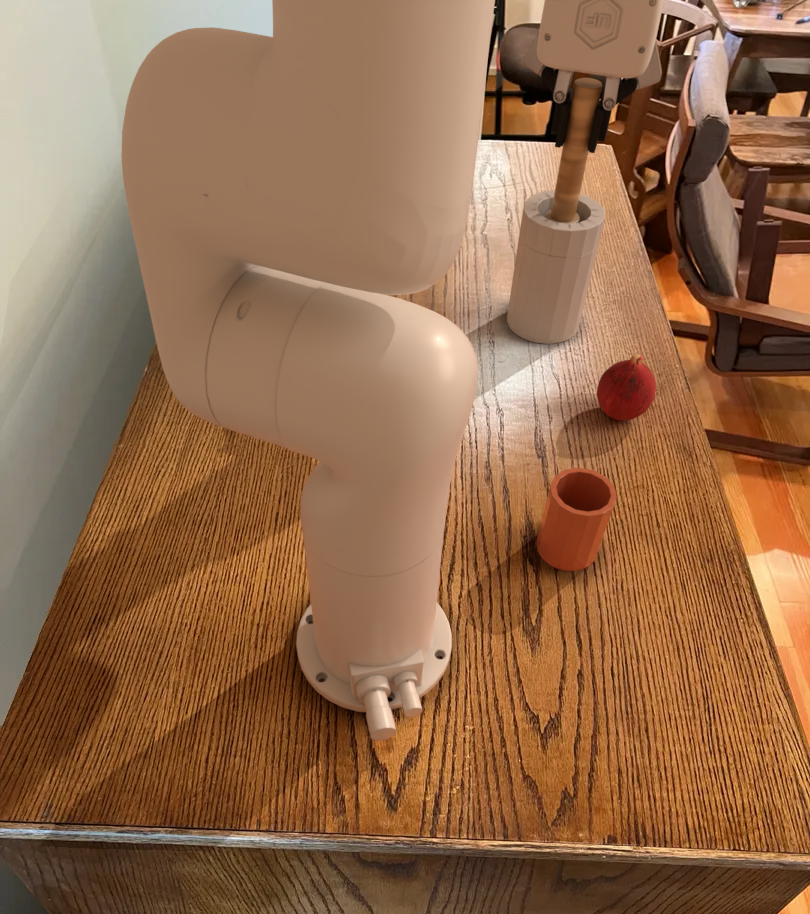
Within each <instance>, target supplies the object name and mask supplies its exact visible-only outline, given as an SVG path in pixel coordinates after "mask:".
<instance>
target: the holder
mask: <svg viewBox="0 0 810 914" xmlns="http://www.w3.org/2000/svg"><path fill="white" fill-rule="evenodd" d="M617 499H618V497H617V491H616V487H615V485H614V484H613V483H612V482H611V481H610V480H609V478H608V477H606V476H605V475H603V474H601V473H599V472H597V471H595V470H593V469H588V468H582V467H574V468H573V467H572V468H567V469H564V470H562V471H561V472H559V473H557V474H555V476H554V477H553V478H552V481H551V483H550V485H549V489H548V492H547V497H546V501H545V505H544V509H543V513H542V517H541V521H540V525H539V529H538V533H537V537H536V541H535V543H536V549H537V553H538V554H539V556H540V557H541V559H542V560H543V561H544V562H545V563H546V564H547V565H548V566H551V567H553V568H555V569H557V570H561V571H565V572H576V571H581V570H585V569H586V568H589V566H591V565H592V564H593V563H594V562H595V560H596V558H597V555H598V552H599V549H600V547H601V544H602V541H603V538H604V535H605V532H606V530H607V528H608V524H609V521H610V518H611V515H612V513H613V510H614V507H615V504H616V502H617Z"/></svg>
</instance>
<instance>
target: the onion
mask: <svg viewBox="0 0 810 914" xmlns="http://www.w3.org/2000/svg"><path fill="white" fill-rule="evenodd" d="M643 361H644V357H643V355H641V354H640V353H636V354H633V355H632V356H631V358H629V359H625V360H620V361H618V362H615V363H613V364H612V365H611V366H610V367H608V368H607V369H606V370H605V371H604V372H603V373H602V375H601V377H600V379H599V381H598V385H597V388H596V398H597V402H598V404H599V407H600V408H601V410H602V411H603V413H605V415H606V416H608V417H609V418H611V419H613V420H617V421H620V422H621V421H631V420H634V419H637V418H638V417H640V416H642V415H643V414H645V413H646V412H647V411H648V410H649V409H650V408H651V406H652V404H654V401H655V398H656V393H657V392H656V390H657V382H656V379H655V376H654V374H653V371H652V370H651V368H649V366H648V365H646V364H645V363H643Z"/></svg>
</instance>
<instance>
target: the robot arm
mask: <svg viewBox="0 0 810 914" xmlns="http://www.w3.org/2000/svg"><path fill="white" fill-rule="evenodd" d="M664 2H665V0H544V3H543V9H542V14H541V18H540V24H539V30H538V32H537V34H536V35H535V37H534V39H533V40H532V42H531V44H530V45H529V47H528V49H527V51H526V52H525V54H524V55H523V58H522V63H523V65H524V66H525V67H527V68H528V69H529V70H530V71H532V72H533V73H534V74H536V75H538V76H540V77H541V79H542V80H543V82H544V84H545V86H546V87H547V88H548V90H549V92H550V93H551V95H552V98H553V101H554V102H555V105H554V111H553V117H552V123H551V128H550V129H551V130H550V135H551V134H552V135H556V137H555V143H554V148H557V149H559V148H561V147H562V148H563V144H564V139H565V134H566V128H567V123H568V117H569V112H570V106H571V99H572V93H573V88H572V87H571V85H572V83H573V77H574V73H583V74H588V75H597V76H604V77H606V79H605V85H604V91H603V93H602V94H601V96H600V99H599V103H598V106H597V108H596V111H595V116H594V121H593V126H592V131H591V135H590V140H589V145H588V150H587V151H589V152H588V153H590V154H595V153H596V150H597V146H598V143H599V142H601V143H602V142H603V143H605V141H606V139H607V135H608V130H609V125H610V121H611V117H612V111H613V110H614V109H615V107H616V106H617V105H618V104H619V103H621V102H622V101H623V100H625V99H627V97H629V96H630V95H632V94H633V93H634V92H635V91H638V90H642V89H645V88H649V87H651V86H653V85H657V84H658V83H659V82H661V80H662V76H663V70H662V64H661V63H662V62H661V59H660V54H659V47H658V40H657V37H658V31H659V26H660V22H661V17H662V13H663V8H664ZM271 4H272V36H270V35H264V34H258V33H253V32H247V31H242V30H241V31H240V30H236V29H229V28H223V27H193V28H187V29H184V30H181V31H177V32H174V33H173V34H171V35H169V36H167V37H165V38H164V39H162V40H161V41H159V43H157V44H156V45H155V46H154V47H153V48H152V49H151V50H150V51H149V52H148V54H146V56H145V58H144V59H143V61H142V62H141V64H140V65H139V67H138V69H137V71H136V73H135V75H134V79H133V80H132V83H131V86H130V89H129V93H128V96H127V100H126V104H125V110H124V117H123V123H122V130H121V169H122V170H121V171H122V181H123V187H124V194H125V199H126V205H127V210H128V216H129V220H130V221H129V222H130V224H131V225H130V227H131V230H132V235H133V239H134V240H133V241H134V244H135V250H136V254H137V258H138V263H139V268H140V273H141V277H142V282H143V288H144V293H145V296H146V302H147V306H148V310H149V314H150V320H151V324H152V329H153V334H154V338H155V343H156V347H157V351H158V355H159V360H160V363H161V367H162V371H163V374H164V377H165V379H166V382H167V384H168V386H169V388H170V390H171V393H172V394H173V395H174V397H175V398H176V400H177V401H178V402H179V404H180V405H181V406H182V407H184V409H185V410H186V411H188V412H189V413H190V414H192V415H194V416H195V417H196V418H199V419H200V420H202V421H205V422H208V423H210V424H212V425H215V426H217V427H221V428H223V429H226V430H229V431H231V432H235V433H238V434H241V435H244V436H247V437H250V438H253V439H256V440H260V441H263V442H265V443H268V444H273V445H275V446H278V447H281V448H284V449H287V450H289V451H291V452H293V453H296V454H300V455H302V456H305V457H308V458H311V459H314V460H316V461H318V462H317V464H316V465H315V467H313V469H312V471H310V473H309V474H308V476H307V478H306V481H305V482H304V485H303V489H302V491H301V496H300V502H299V515H300V523H301V525H300V526H301V531H302V538H303V546H304V556H305V565H306V573H307V580H308V589H309V597H310V604H309V605H308V607H306V609H305V611H304V613H303V615H302V616H301V618H300V620H299V624H298V628H297V631H296V645H295V647H296V653H297V659H298V663H299V666H300V669H301V671H302V673H303V675H304V677H305V679H306V680H307V682H308V683H309V684H310V685H311V687H312V688H313V689H314V690H315V691H316V692H317V693H318V694H319V695H321V696H322V697H323V698H324V699H325V700H327V701H329V702H331V703H333V704H335V705H336V706H338V707H340V708H343V709H347V710H350V711H354V712H358V713H359V712H360V713H366V714H365V718H366V723H367V727H368V732H369V736H370V739H371V740H372V741H378V742H380V741H381V742H382V741H386V740H388V739H391V738H392V737H394V736H395V735H396V734H397V728H396V723H395V719H394V714H393V712H392V711H393V710H395V709H401V708H402V710H403V711H402V712H403V714H404V716H405V718H406V717H407V718H415V717H418V716H419V715H421V714H422V713H423V706H422V703H421V700H420V699H421V698H422V697H424V696H425V695H427V694H428V693H429V692H431V690H432V689H433V688H435V686H436V685H437V684H438V683H439V682H440V680H441V679H442V677H443V676H444V674H445V673H446V670H447V668H448V665H449V663H450V659H451V654H452V649H453V647H452V646H453V642H452V641H453V638H452V637H453V635H452V630H451V627H450V626H451V625H450V622H449V619H448V618H447V615H446V613H445V611H444V609H443V608H442V607H441V605H440V604H439V602H438V593H439V584H440V576H441V575H440V573H441V565H442V564H441V563H442V554H443V544H444V535H445V526H446V520H447V519H446V518H447V508H448V501H449V493H450V488H451V481H452V477H453V472H454V468H455V464H456V461H457V456H458V453H459V450H460V447H461V444H462V441H463V437H464V435H465V432H466V428H467V427H468V422H469V420H470V417H471V413H472V410H473V405H474V402H475V398H476V394H477V389H478V388H477V387H478V380H479V379H478V378H479V365H478V364H479V363H478V359H477V358H478V357H477V354H476V351H475V349H474V346H473V344H472V343H471V341H470V339H469V337H468V336H467V335H466V334H465V332H464V331H463V330H462V329H461V328H459V326H457V325H456V324H455V323H454V322H453V321H451V320H450V319H448V318H447V317H445V316H444V315H442V314H440V313H438V312H437V311H434V310H432V309H429V308H427V307H425V306H422V305H421V304H417V303H415V302H411V301H408V300H405V299H403V298H399V297H395V296H399V295H400V296H405V295H412V294H416V293H420V292H424V291H426V290H428V289H430V288H432V287H433V286H435V285H436V284H437V283H439V282H440V281H441V280H442V279H443V278H445V276H446V275H447V274H448V271H449V270H450V269H451V267H452V266H453V264H454V263H455V261H456V259H457V256H458V254H459V251H460V249H461V247H462V243H463V240H464V236H465V231H466V227H467V226H466V225H467V222H468V218H469V211H470V206H471V200H472V193H473V185H474V177H475V168H476V161H477V153H478V145H479V136H480V128H481V122H482V121H481V120H482V113H483V103H484V94H485V86H486V78H487V69H488V61H489V60H488V59H489V53H490V45H491V36H492V27H493V21H494V20H493V19H494V11H495V4H496V0H272V3H271ZM438 657H441V658H438ZM388 698H390V699H391V701H389V700H388Z"/></svg>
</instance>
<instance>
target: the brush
mask: <svg viewBox="0 0 810 914" xmlns="http://www.w3.org/2000/svg"><path fill="white" fill-rule="evenodd" d="M602 88H603V84H602V82H601V81H600V80H599V79H595V78H592V77H580V78H577V79H575V81H574V83H573V88H572V99H571V106H570V112H569V117H568V123H567V128H566V134H565V139H564V144H563V146H562V149H561V155H560V160H559V161H560V162H559V166H558V171H557V176H556V182H555V187H554V190H555V193H554V199H553V204H552V209H551V210H549V211H548V212H547V213H546V217H545V218H547V219H548V220H551V221H554V222H557V223H566V224H571V223H579V219H580V218H579V215H578V214H577V213H576V210H577V205H578V200H579V195H580V194H581V191H582V186H583V181H584V177H585V171H586V166H587V161H588V156H589V153H590V152H589V151H587V150H588V145H589V140H590V135H591V131H592V126H593V121H594V116H595V111H596V108H597V106H598V103H599V100H600V99H601V95H602V94H601V93H602Z"/></svg>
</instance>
